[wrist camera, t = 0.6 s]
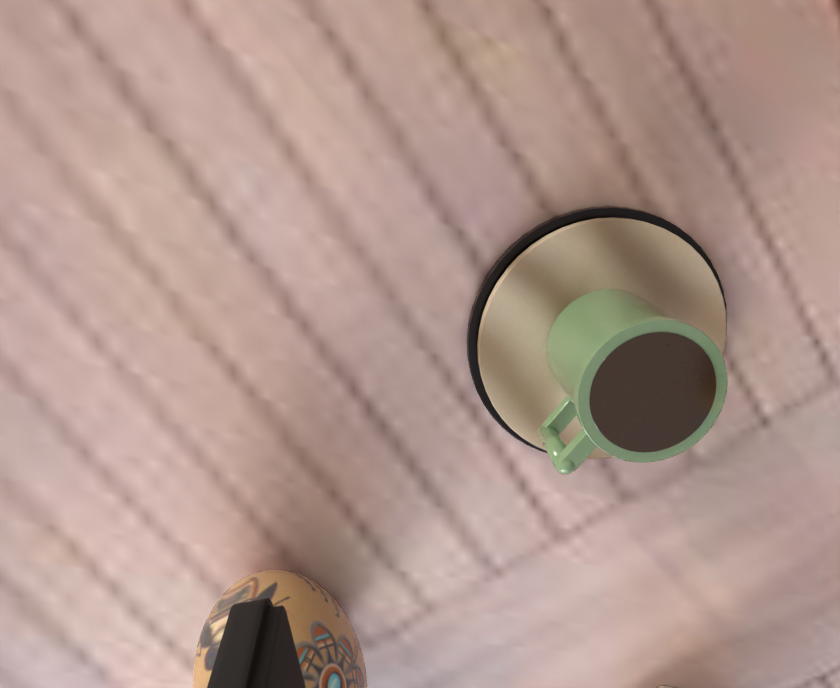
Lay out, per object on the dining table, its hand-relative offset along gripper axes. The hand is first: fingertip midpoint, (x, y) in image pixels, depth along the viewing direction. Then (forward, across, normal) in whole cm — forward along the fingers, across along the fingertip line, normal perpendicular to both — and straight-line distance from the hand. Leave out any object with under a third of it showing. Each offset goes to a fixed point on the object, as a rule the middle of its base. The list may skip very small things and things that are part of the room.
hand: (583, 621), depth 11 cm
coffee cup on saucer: (+31, -9, +6) cm, 33 cm away
